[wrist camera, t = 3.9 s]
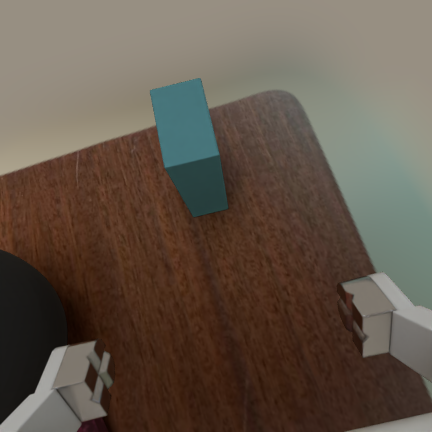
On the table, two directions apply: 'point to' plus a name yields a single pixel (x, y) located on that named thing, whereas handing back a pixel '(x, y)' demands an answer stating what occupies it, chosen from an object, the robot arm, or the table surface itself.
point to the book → (93, 426)
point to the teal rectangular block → (190, 146)
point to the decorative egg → (25, 330)
